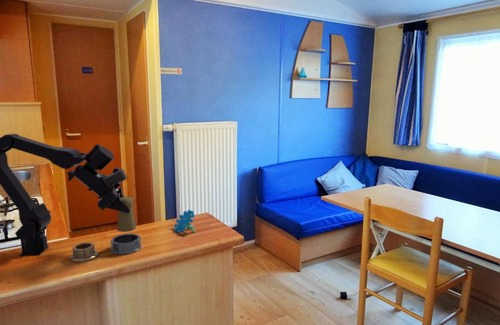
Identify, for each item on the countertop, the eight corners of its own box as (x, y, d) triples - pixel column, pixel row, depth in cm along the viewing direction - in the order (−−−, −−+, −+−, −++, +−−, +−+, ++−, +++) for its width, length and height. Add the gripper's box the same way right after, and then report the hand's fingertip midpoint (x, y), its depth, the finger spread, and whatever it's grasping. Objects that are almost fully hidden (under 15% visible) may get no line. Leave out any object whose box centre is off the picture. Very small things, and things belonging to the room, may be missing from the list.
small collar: (66, 262, 108) (65, 251, 108) (76, 252, 116) (75, 241, 116) (93, 261, 109) (92, 250, 109) (101, 250, 117) (100, 240, 117)
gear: (170, 223, 139) (187, 204, 140) (180, 231, 142) (197, 213, 143) (177, 236, 129) (196, 216, 131) (188, 244, 133) (206, 224, 134)
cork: (130, 232, 116) (128, 200, 114) (113, 231, 117) (111, 199, 115) (139, 226, 122) (137, 195, 120) (123, 225, 123) (121, 194, 121)
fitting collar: (107, 255, 114) (107, 244, 113) (115, 243, 123) (114, 234, 123) (138, 253, 115) (137, 243, 114) (143, 242, 124) (143, 232, 124)
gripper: (107, 166, 106) (146, 199, 110) (113, 157, 123) (147, 186, 128) (80, 193, 105) (121, 225, 110) (90, 180, 122) (125, 208, 127)
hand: (129, 209), depth 119 cm, fingers closed on cork, 5 cm apart
